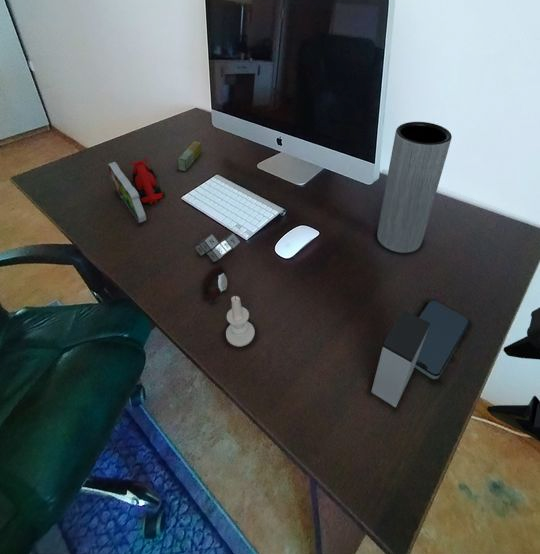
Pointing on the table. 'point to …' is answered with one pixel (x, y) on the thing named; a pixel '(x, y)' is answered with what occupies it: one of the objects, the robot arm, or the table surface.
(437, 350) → the smartphone
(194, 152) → the medication box
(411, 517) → the table surface
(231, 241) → the building blocks
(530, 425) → the robot arm
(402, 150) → the planter
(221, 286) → the watch
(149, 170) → the toy car
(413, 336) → the box with lid
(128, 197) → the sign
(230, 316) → the candle
